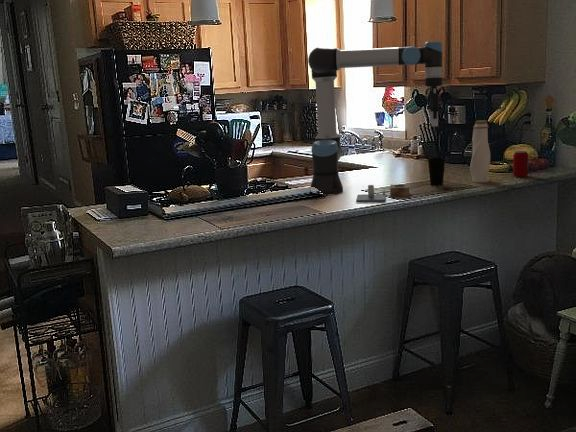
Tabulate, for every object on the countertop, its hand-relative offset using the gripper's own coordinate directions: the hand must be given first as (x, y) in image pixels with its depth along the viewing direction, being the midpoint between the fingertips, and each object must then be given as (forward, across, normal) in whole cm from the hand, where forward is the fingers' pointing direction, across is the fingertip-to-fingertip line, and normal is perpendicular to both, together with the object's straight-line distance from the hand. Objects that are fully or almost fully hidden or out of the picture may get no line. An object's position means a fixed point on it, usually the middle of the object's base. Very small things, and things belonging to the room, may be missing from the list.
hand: (433, 125), depth 290 cm
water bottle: (+28, +7, -21) cm, 36 cm away
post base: (+28, -32, +28) cm, 51 cm away
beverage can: (+28, +16, -41) cm, 52 cm away
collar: (+28, -23, +16) cm, 39 cm away
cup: (+28, 0, -1) cm, 28 cm away
